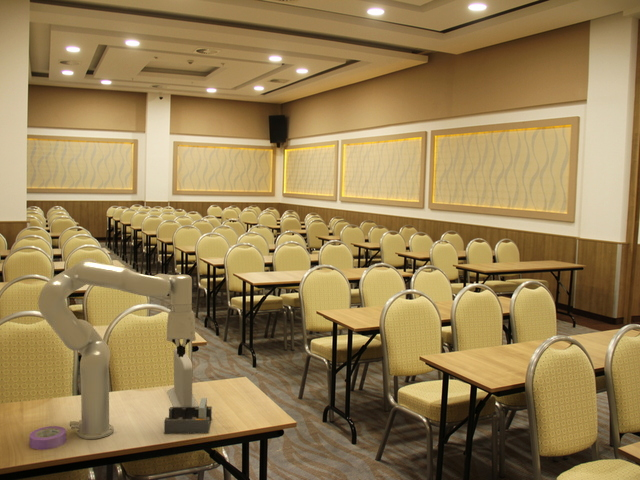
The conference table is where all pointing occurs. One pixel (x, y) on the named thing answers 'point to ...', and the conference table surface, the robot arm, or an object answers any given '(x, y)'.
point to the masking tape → (47, 437)
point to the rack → (187, 421)
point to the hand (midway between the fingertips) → (181, 356)
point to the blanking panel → (203, 408)
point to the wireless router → (182, 382)
